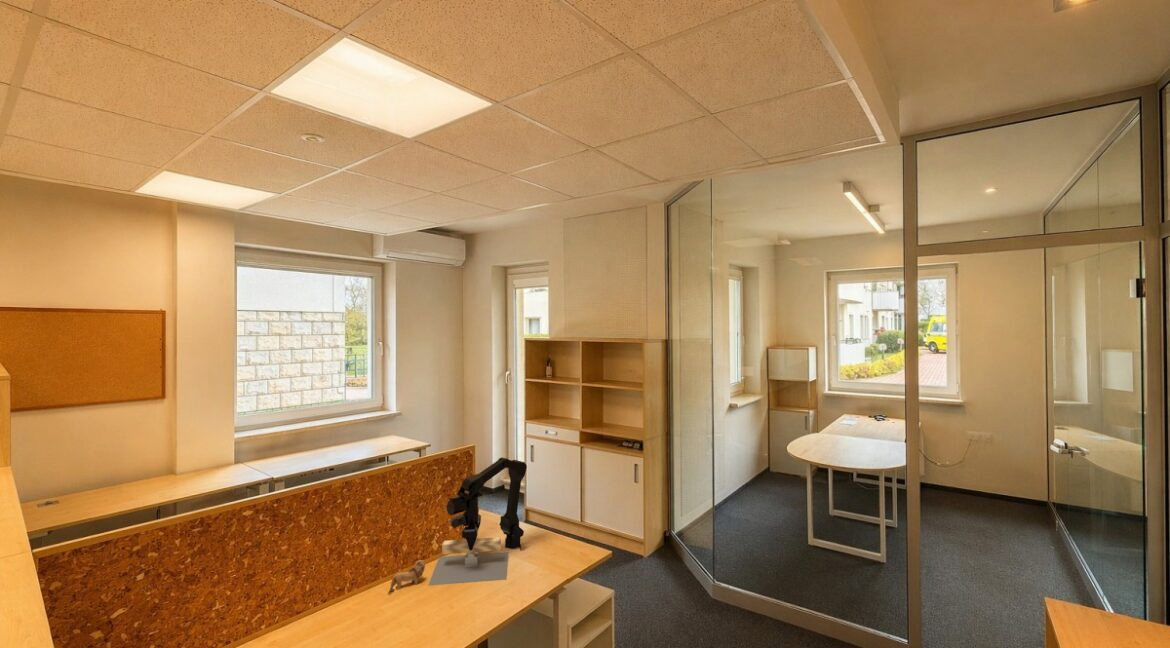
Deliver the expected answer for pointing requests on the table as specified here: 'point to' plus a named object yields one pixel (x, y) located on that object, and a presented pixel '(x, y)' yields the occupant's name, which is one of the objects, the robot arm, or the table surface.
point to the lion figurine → (408, 575)
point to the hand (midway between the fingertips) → (472, 545)
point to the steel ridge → (471, 559)
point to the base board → (470, 569)
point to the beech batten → (479, 546)
